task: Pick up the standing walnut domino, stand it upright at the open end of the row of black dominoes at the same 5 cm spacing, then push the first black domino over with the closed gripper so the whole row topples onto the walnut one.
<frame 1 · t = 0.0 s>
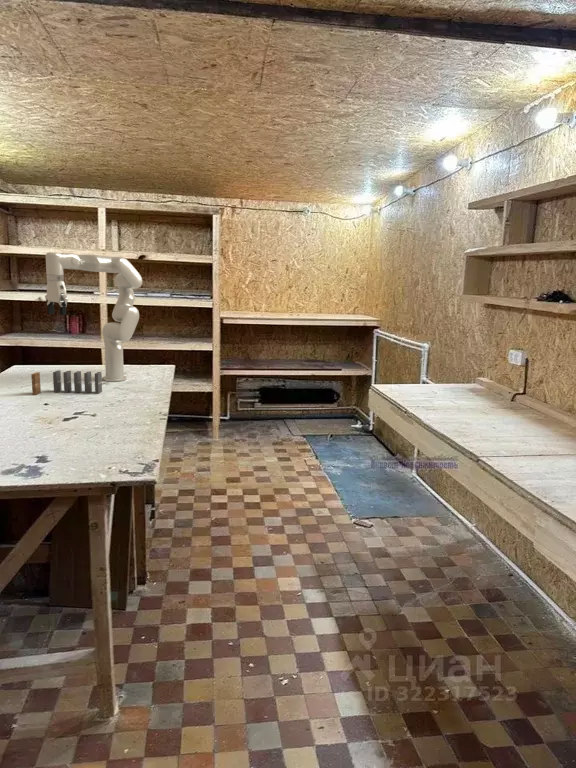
hand: (57, 314, 251), 37 cm above the table, fingers open, 9 cm apart
domino 6: (36, 393, 244), on the table
domino 2: (88, 392, 251), on the table
domino 5: (57, 391, 251), on the table
domino 3: (78, 392, 251), on the table
domino 4: (68, 391, 251), on the table
domino 1: (98, 392, 252), on the table
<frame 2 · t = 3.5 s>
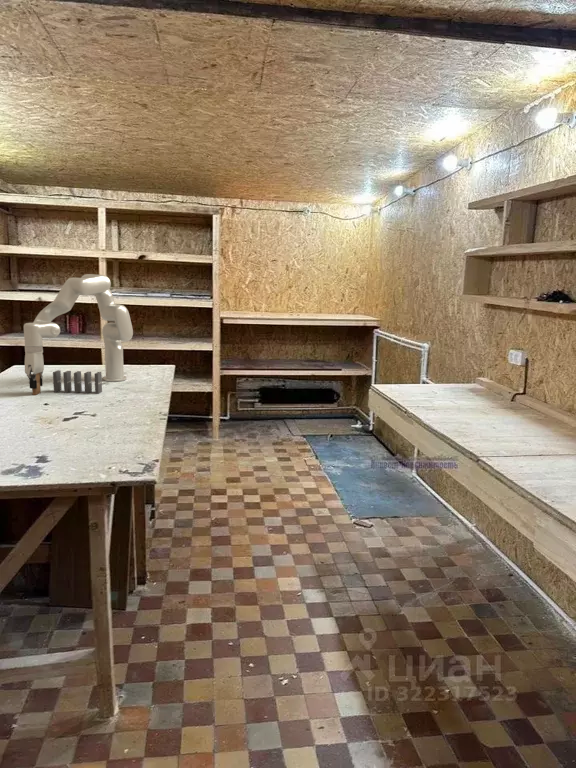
hand: (36, 386, 243), 3 cm above the table, fingers closed on domino 6, 4 cm apart
domino 6: (36, 393, 244), on the table, touching gripper
everything else where it was.
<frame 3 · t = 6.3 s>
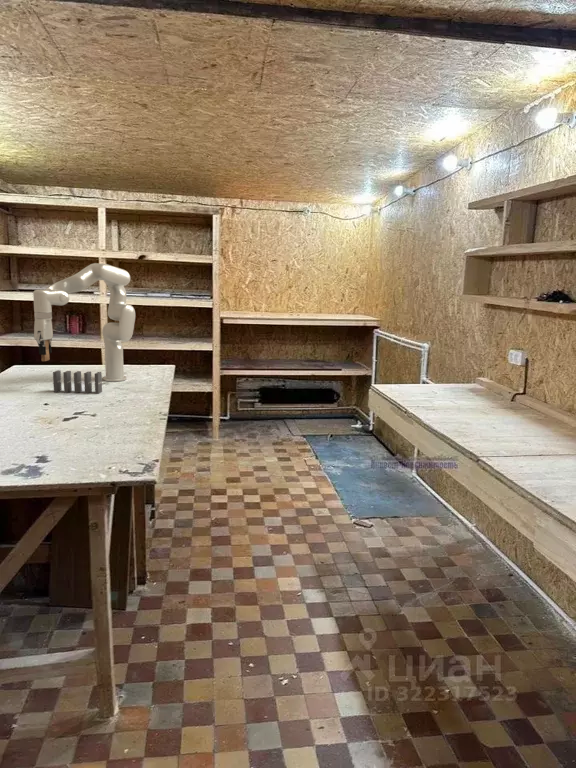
hand: (45, 353, 247), 19 cm above the table, fingers closed on domino 6, 4 cm apart
domino 6: (45, 360, 248), point 15 cm above the table, touching gripper
everything else where it was.
when the fingers open (4 cm above the table, at t = 9.1 s): domino 6 stays where it is, on the table.
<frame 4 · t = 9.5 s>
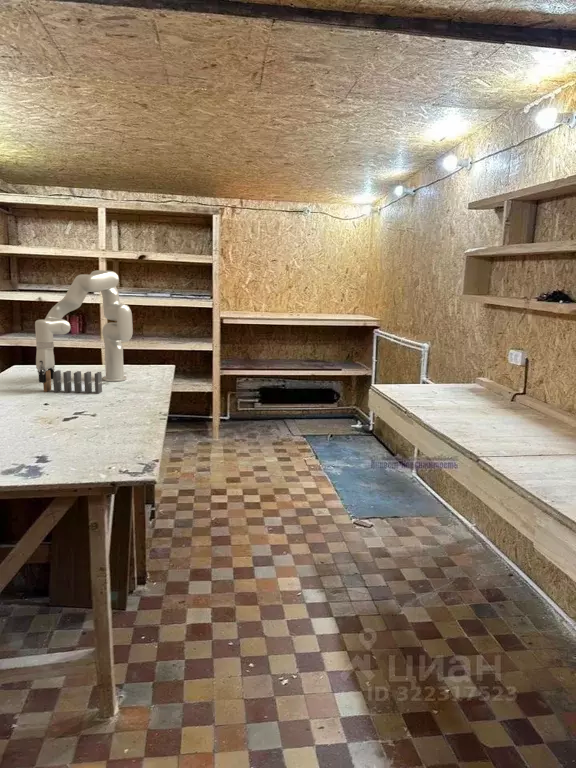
hand: (47, 380, 250), 5 cm above the table, fingers open, 8 cm apart
domino 6: (47, 390, 251), on the table
everything else where it was.
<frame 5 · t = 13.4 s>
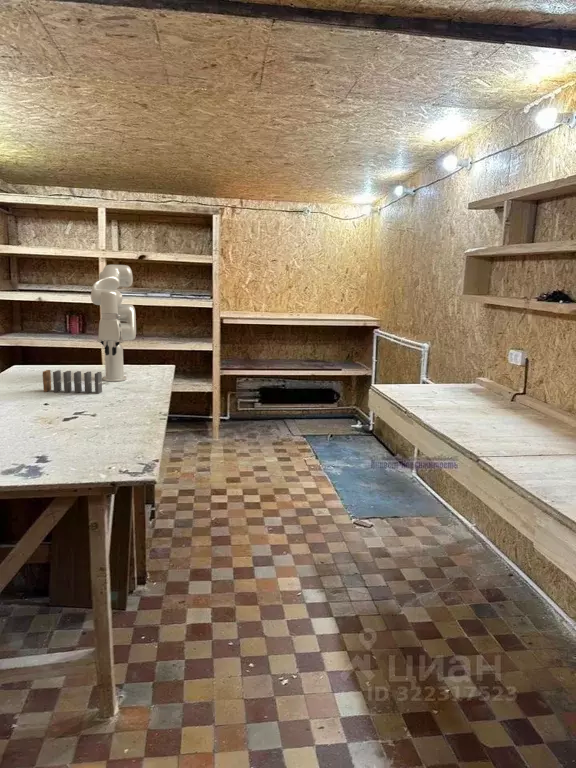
hand: (110, 354, 248), 19 cm above the table, fingers closed
nothing on the table moved.
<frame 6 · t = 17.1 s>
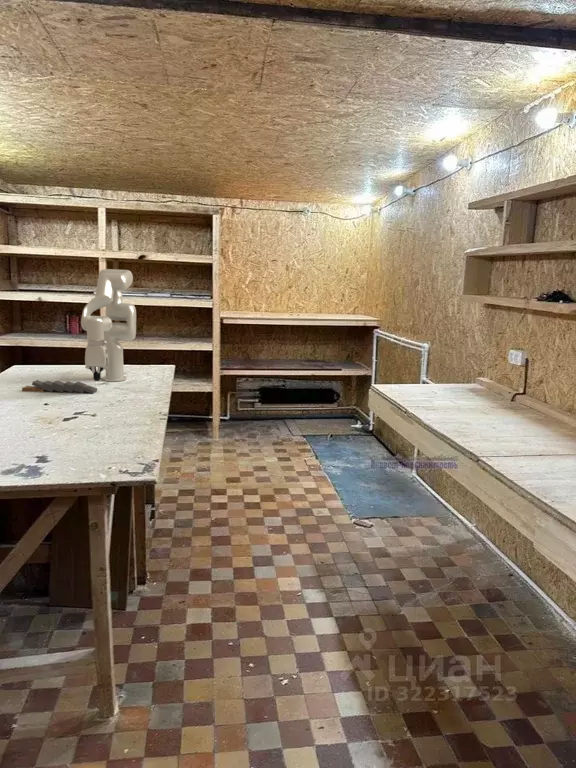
hand: (97, 380, 250), 6 cm above the table, fingers closed
domino 6: (45, 389, 251), point 1 cm above the table, tilted 90°, touching domino 5
domino 2: (85, 390, 251), point 1 cm above the table, tilted 71°, touching domino 1, domino 3
domino 5: (54, 389, 251), point 1 cm above the table, tilted 71°, touching domino 4, domino 6
domino 3: (74, 390, 251), point 1 cm above the table, tilted 70°, touching domino 2, domino 4
domino 4: (64, 390, 251), point 1 cm above the table, tilted 71°, touching domino 3, domino 5
domino 1: (95, 391, 251), point 1 cm above the table, tilted 71°, touching domino 2
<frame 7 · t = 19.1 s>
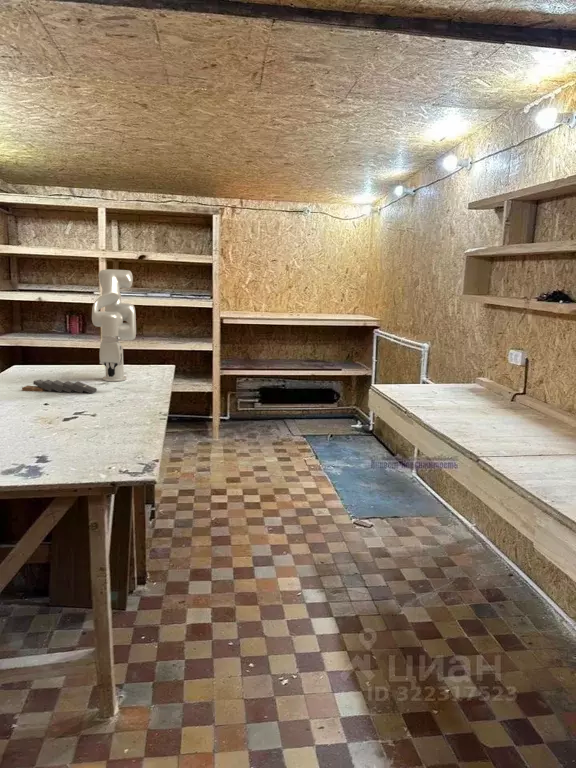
hand: (111, 376, 252), 8 cm above the table, fingers closed
domino 6: (44, 389, 251), point 1 cm above the table, tilted 89°
domino 5: (54, 389, 252), point 1 cm above the table, tilted 73°, touching domino 4
domino 1: (94, 391, 251), point 1 cm above the table, tilted 71°, touching domino 2
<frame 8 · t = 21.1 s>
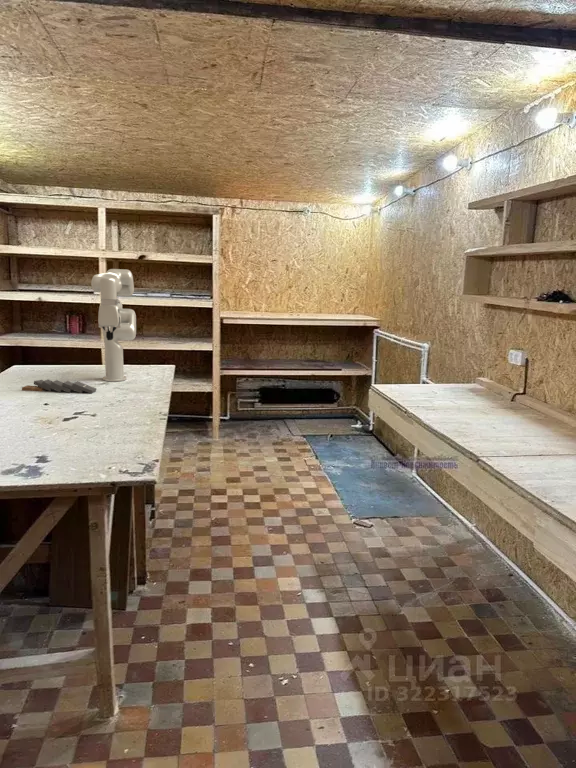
hand: (110, 339, 256), 25 cm above the table, fingers closed
domino 6: (44, 389, 252), on the table, tilted 89°, touching domino 5
domino 2: (84, 390, 251), point 1 cm above the table, tilted 71°, touching domino 1
domino 5: (53, 388, 252), point 1 cm above the table, tilted 75°, touching domino 4, domino 6
domino 3: (72, 390, 251), point 1 cm above the table, tilted 69°, touching domino 4
at the end: domino 6 tilted 89°; domino 1 tilted 71°; the gripper is holding nothing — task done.
